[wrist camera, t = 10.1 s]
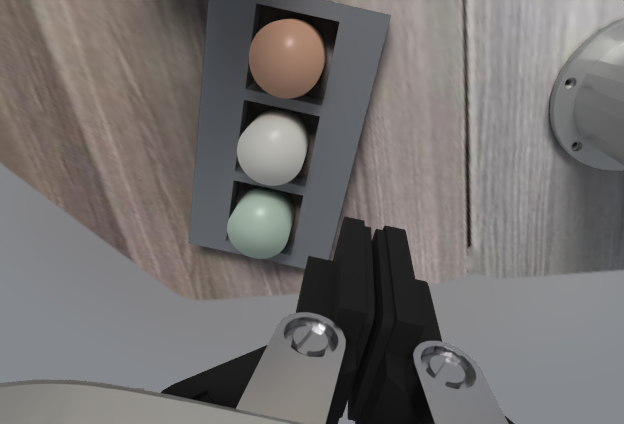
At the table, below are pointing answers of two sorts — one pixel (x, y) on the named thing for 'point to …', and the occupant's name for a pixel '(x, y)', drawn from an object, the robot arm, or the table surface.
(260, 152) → the cream egg
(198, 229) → the pebble holder tray
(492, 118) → the table surface
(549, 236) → the table surface
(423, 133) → the table surface
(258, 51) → the terracotta egg
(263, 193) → the sage egg
